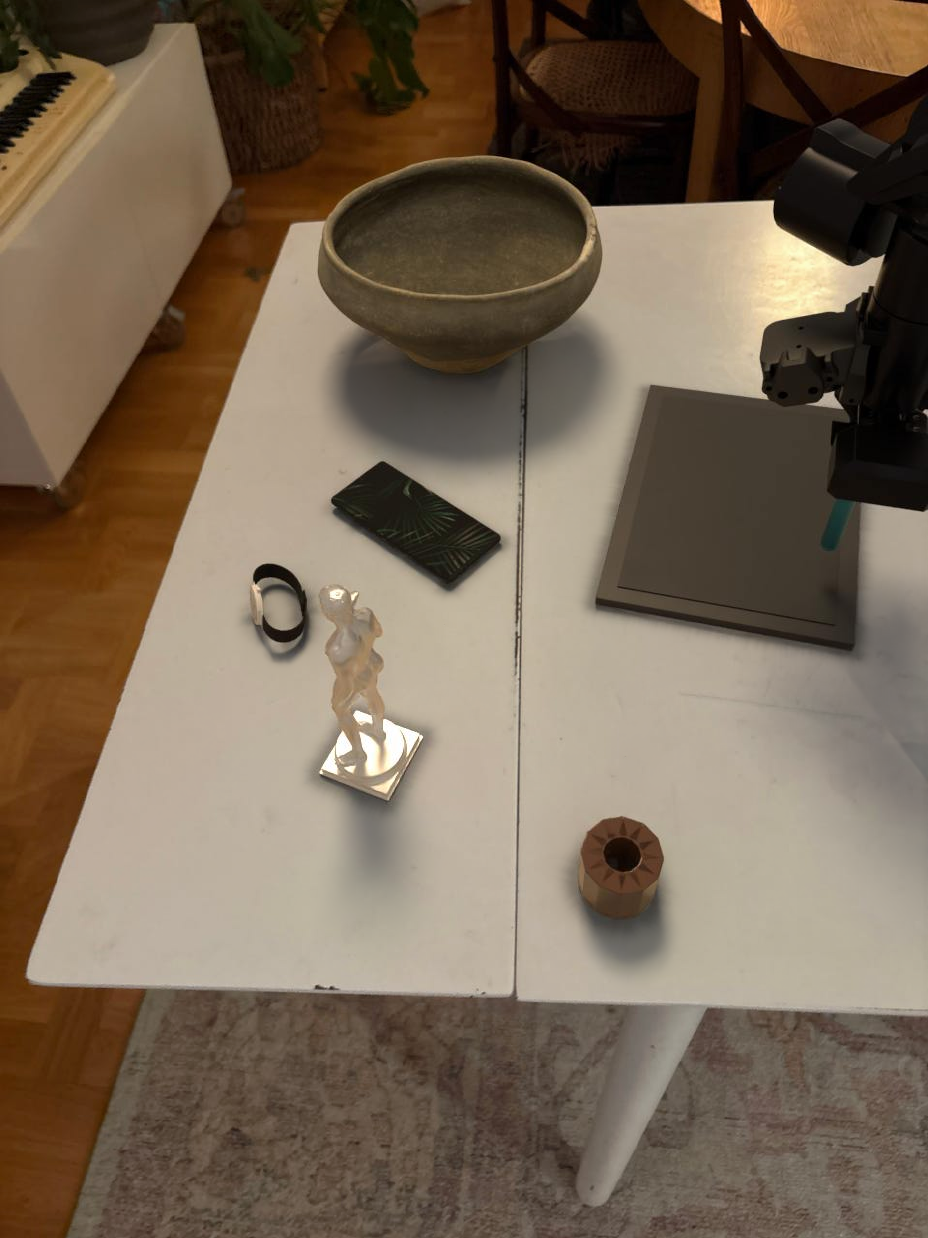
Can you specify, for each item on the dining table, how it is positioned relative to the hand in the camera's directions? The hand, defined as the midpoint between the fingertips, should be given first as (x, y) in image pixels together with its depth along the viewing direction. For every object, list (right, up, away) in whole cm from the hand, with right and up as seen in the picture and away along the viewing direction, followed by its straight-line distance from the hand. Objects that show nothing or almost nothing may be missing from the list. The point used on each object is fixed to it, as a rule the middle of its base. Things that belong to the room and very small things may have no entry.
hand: (851, 488), depth 66 cm
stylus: (0, -4, +5) cm, 7 cm away
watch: (-44, -9, +10) cm, 46 cm away
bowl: (-28, +20, +31) cm, 47 cm away
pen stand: (-18, -27, -6) cm, 33 cm away
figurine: (-35, -19, +1) cm, 40 cm away
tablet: (-4, +1, +14) cm, 15 cm away
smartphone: (-33, -1, +15) cm, 36 cm away
